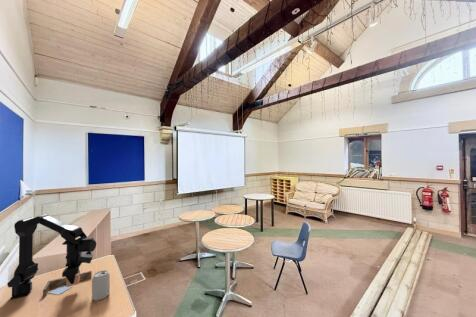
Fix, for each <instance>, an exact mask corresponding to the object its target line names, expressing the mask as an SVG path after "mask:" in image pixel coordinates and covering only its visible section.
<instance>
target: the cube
mask: <svg viewBox="0 0 476 317" xmlns="http://www.w3.org/2000/svg"><path fill="white" fill-rule="evenodd" d="M80 273H81V270H79V272H78V273H77V274H76V275H75V280H74V284H71V283H70V282H69V281H68V279H67V278H66V284H65V285H66V287H69V286H72V287H74V286H76V285H79V284H80V281H81V280H80Z"/></svg>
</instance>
